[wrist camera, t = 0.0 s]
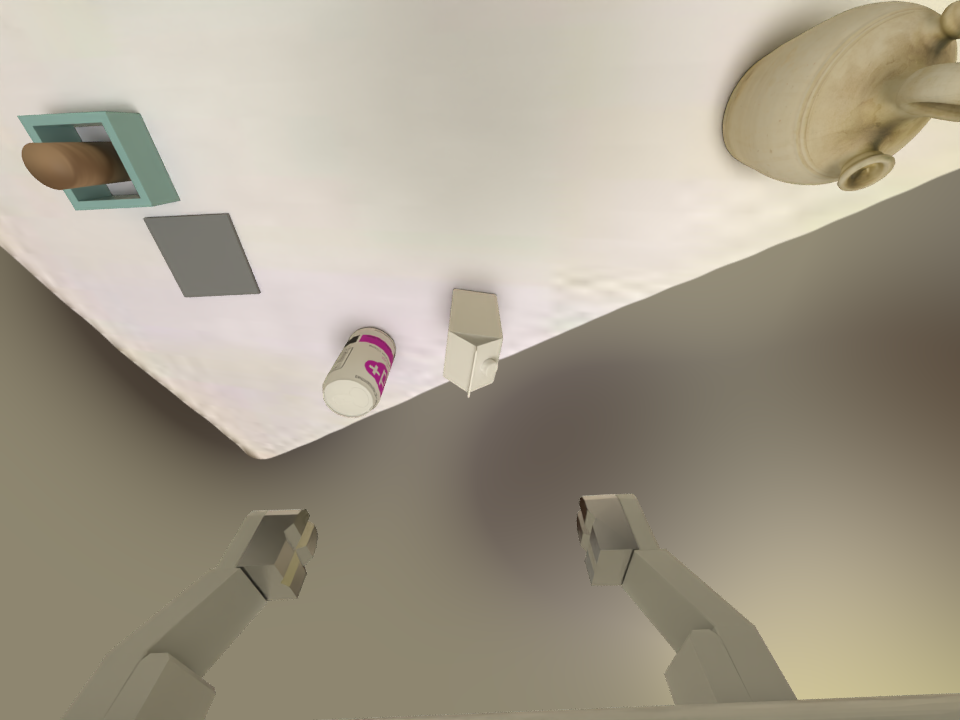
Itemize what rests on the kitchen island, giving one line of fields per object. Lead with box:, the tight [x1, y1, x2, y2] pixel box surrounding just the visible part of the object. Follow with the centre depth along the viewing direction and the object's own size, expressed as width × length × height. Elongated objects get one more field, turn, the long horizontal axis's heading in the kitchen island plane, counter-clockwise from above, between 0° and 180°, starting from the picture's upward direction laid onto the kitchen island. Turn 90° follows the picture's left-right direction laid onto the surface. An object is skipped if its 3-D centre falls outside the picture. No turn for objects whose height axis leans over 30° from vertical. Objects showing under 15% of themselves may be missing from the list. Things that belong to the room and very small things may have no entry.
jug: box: [723, 1, 960, 191], centre depth 34 cm, size 15×16×25 cm
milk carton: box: [443, 289, 503, 397], centre depth 51 cm, size 7×7×19 cm
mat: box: [143, 214, 261, 297], centre depth 53 cm, size 12×12×1 cm
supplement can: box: [323, 328, 396, 418], centre depth 56 cm, size 8×8×15 cm
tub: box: [17, 111, 180, 210], centre depth 44 cm, size 10×10×5 cm
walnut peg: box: [22, 142, 132, 190], centre depth 42 cm, size 4×4×10 cm
